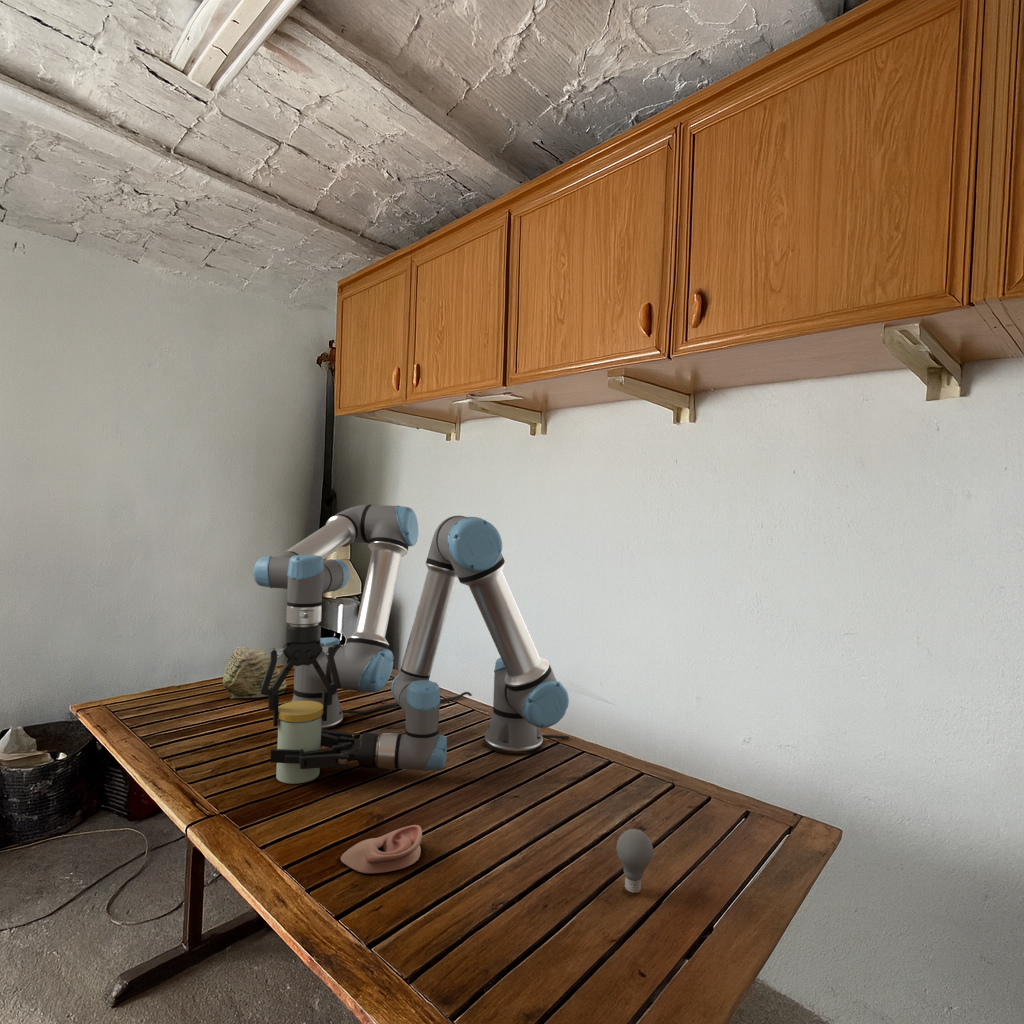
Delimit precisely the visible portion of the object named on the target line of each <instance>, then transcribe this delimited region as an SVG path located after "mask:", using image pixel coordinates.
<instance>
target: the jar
mask: <svg viewBox="0 0 1024 1024" xmlns="http://www.w3.org/2000/svg"><path fill="white" fill-rule="evenodd" d="M321 720H322V716H321V717H319V718H317V719H314V720H310V721H303V722H289V721H283V720H280V719H279V718H278V726H277V743H276V744H277V745H276V749H287V750H301V749H303V751H304V752H308V751H314V750H321V747H322V745H321ZM275 770H276V771H275V773H276V775H275V778H276V780H277V781H279V782H281V783H284V784H288V785H289V784H290V785H291V784H292V785H293V784H294V785H296V784H303V783H307V782H311V781H313V780H315V779H317V778H318V777H319V775H320V771H321V768H311V769H300V764H295V763H276V769H275Z"/></svg>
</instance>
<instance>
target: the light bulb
mask: <svg viewBox="0 0 1024 1024" xmlns="http://www.w3.org/2000/svg"><path fill="white" fill-rule="evenodd" d="M615 849H616V854H617V857H618V859H619V861H620V863H621V865H622V867H623V873H624V874H623V875H624V876H625V878H624V888H625V890H627V891H628V892H630V893H634V894H635V893H639V892H640V891H641V889H642V887H641V886H642V879H643V877H644V875H645V871H646V868H647V867H648V866H649V864H650V863H651V861H652V859H653V855H654V847H653V843H652V841H651V838H649V836H648V835H647V834H646V833H645V832H643V831H642V830H641V829H636V828H629V829H627V830H625V831H623V832H622V833H621V834H620V835H619V837H618V839H617V841H616V847H615Z"/></svg>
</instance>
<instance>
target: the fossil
mask: <svg viewBox="0 0 1024 1024" xmlns="http://www.w3.org/2000/svg"><path fill="white" fill-rule="evenodd" d="M269 661H270V655H268V654H267V653H266V652H265V650H264V649H263V648H260V647H258V648H251V647H247V646H246V647H245V646H238V647H237V648H236V649H235V650H233V651H232V653H231V656H230V657H229V659H228V660H227V663H226V666H225V668H224V671H223V675H222V676H223V677H222V685H223V687H224V688H225V690H226V691H228V693H229V698H230V699H250V698H264V697H269V696H268V695H262V694H261V690H260V688H261V685H262V682H263V679H264V676H265V673H266V670H267V667H268V664H269ZM280 672H281V669H279V668H278V667H277V665H276V666H275V669H274V672H273V675H272V678H271V681H270V684H269V687H268V688H271V686H272V685H273V683H274V681H275V680H276V678H277V676H278V675H279V673H280ZM287 687H288V686H287V680H286V679H285V680H284V681H283V683H282V685H281V686H280V688H279V690H278V691H277V693H278V695H281V694H284V693H285V691H286V689H287Z"/></svg>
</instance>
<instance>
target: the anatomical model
mask: <svg viewBox="0 0 1024 1024" xmlns="http://www.w3.org/2000/svg"><path fill="white" fill-rule="evenodd" d="M422 839H423V830H422V827H421V826H420V825H418V824H412V825H407V826H403V827H400V828H397V829H395V830H392V831H390V832H388V833H386V834H383V835H380V836H379V837H373V838H367V839H364V840H361V841H359V842H357V843H356V844H354V845H352V846H351V847H350V848H348V849H347V850H345V851H344V852H343V853H342V855H341V856H340V861H341V862H342V864H344V865H346V867H348V868H350V869H352V870H354V871H357V872H359V873H362V874H381V873H388V872H393V871H398V870H402V869H405V868H407V867H409V866H411V865H414V864H415V863H416V862H417V861H418V860H419V859H420V857H421V853H422V850H421V842H422Z"/></svg>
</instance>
